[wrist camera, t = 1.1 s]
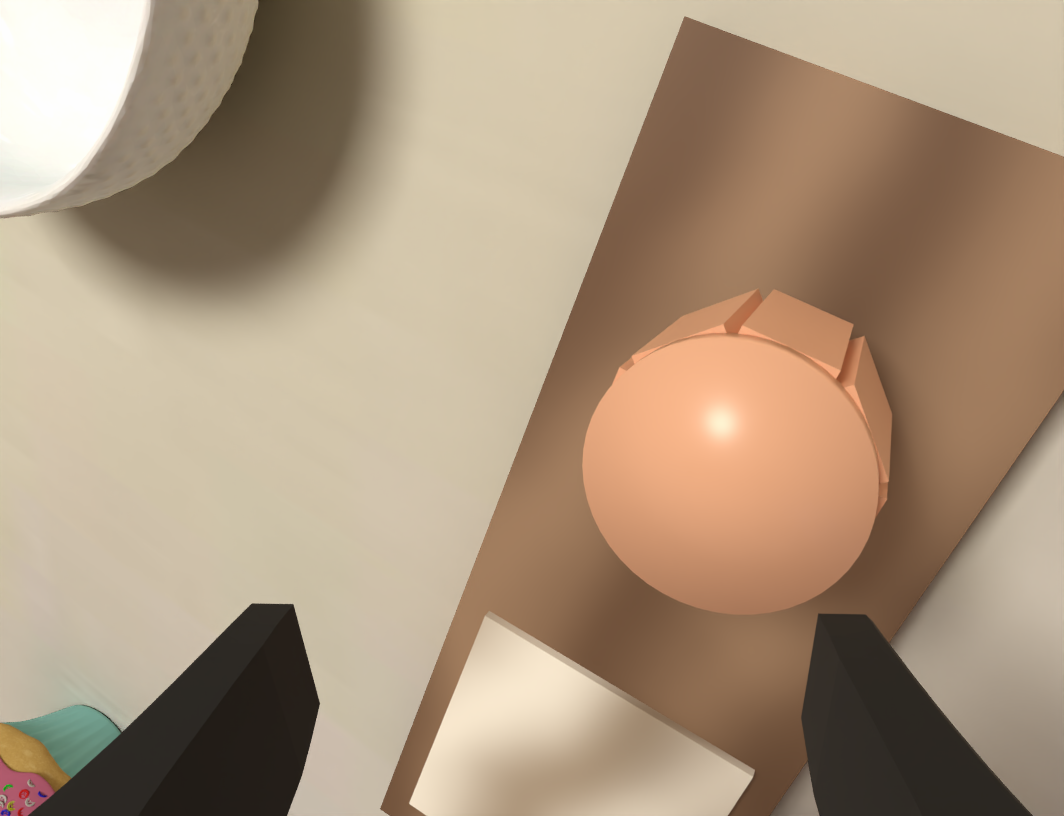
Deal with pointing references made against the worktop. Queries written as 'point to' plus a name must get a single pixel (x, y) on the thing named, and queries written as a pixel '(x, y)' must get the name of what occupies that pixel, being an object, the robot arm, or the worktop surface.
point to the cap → (742, 455)
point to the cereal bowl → (107, 92)
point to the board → (647, 310)
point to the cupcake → (48, 754)
